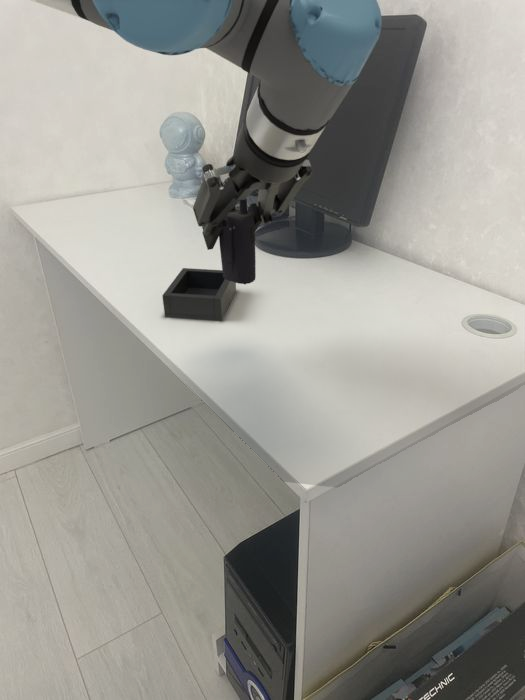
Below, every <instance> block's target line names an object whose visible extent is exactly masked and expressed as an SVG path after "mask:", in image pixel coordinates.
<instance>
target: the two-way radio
mask: <svg viewBox="0 0 525 700" xmlns="http://www.w3.org/2000/svg"><path fill="white" fill-rule="evenodd" d="M238 203H239V209H238V208H236V206H235V207H234V208H233V209H232V210H231V211H230V212H229V213H228V215H227V216H226V217H225V218H224V219H223V220H222V224H223V229H222V231H221V233H220V235H219V237H218V241H219V250H220V259H221V261H220V262H221V270H222V271H223V277H224V279H226V280H229V281H232V282H235V283H236V284H240V285H247V284H252V283H253V282H255V281H256V278H257V277H256V264H257V263H256V262H257V261H256V232H255V222H254V216H253V214H252V213H250V212H248V211H247V210H248V197H247V198H246V199H245V200H240V201H239V202H238Z"/></svg>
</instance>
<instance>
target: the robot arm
mask: <svg viewBox="0 0 525 700" xmlns="http://www.w3.org/2000/svg"><path fill="white" fill-rule="evenodd" d="M31 1H32V2H35V3H37V4H40V5H43V6H46V7H49V8H52V9H55V10H58V11H60V12H62V13H66V14H69V15H70V16H71V15H72V16H74V17H77V18H80V19H83V20H85V21H88V22H91V23H92V24H94V25H97V26H99V27H102V28H105V29H108V30H110V31H113V32H114V33H115V34H117V35H118V36H119V37H120V38H121V39H123V40H124V41H125V42H127V43H129V44H131V45H133V46H135V47H137V48H139V49H142V50H145V51H149V52H152V53H157V54H160V55H165V56H180V55H184V54H188V53H191V52H193V51H195V50H199V49H207V50H209V51H210V52H212V53H214V54H216V55H217V56H219V57H221V58H223V59H224V60H226V61H228V62H230V63H231V64H233V65H235V66H237V67H238V68H240V69H242V70H243V71H244V72H246V73H247V74H250V75H252V76H254V77H255V78H257V79H259V80H260V81H259V83H258V85H257V88H256V90H255V92H254V95H253V97H252V99H251V102H250V104H249V106H248V109H247V111H246V116H245V118H244V120H243V122H242V125H241V128H240V130H239V133H238V136H237V138H236V142H235V148H234V154H232V156H231V157H229V159H228V160H227V161H226V163H225V165H224V166H221V167H218V168H217V167H216V168H214V165H213V164H211V163H207V164H204V165H203V166H202V174H203V179H202V181H201V184H200V186H199V190H198V193H197V195H196V198H195V201H194V204H193V206H192V210H193V213H194V216H195V220H196V223H197V226H198V227H201V229H202V235H203V236H202V237H203V239H204V243H205V245H206V249H207V250H209V251H211V250H213V249H214V247H215V246H216V243H217V242H218V240H219V235H220V233H221V231H222V229H223V224H222V220H223V219H224V218H225V217H226V216H227V215H228V213H229V212H230V211H231V210H232V209H233V208H234V207H235V208H236V206H237V205H238V203H239V201H240V200H245V199H246V198H247V199H248V197H249V196H250V195H251V194H252V193H253V192H254V191H256V190H257V191H258V193H257V194H258V195H257V201H256V202H253V203H250V205H249V207H248V208H247V211H248V212H250V213H252V214H253V216H254V222H255V233H256V232H257V230H258V229H259V228H260V227H262V226H264V224H265V225H269V224H271V223H273V222H274V219H273V216H272V214H274V213H275V214H276V215H278V216H279V215H283V214H284V213H285V212H286V211H287V209H288V207H289V206H290V205H291V202H292V201H293V199H294V198H295V197H296V195H297V193H298V192H299V191H300V189H301V187H302V186H303V184H304V183H305V182H306V181H307V180H308V179H309V178H311V177H312V176H313V175H314V171H313V168H312V165H311V162H310V160H309V157H308V156H309V155H310V152H311V151H312V149H313V148H314V146H315V145H316V143H317V141H318V139H319V138H320V136H321V135H322V133H323V132H324V130H325V129H326V127H327V126H328V124H329V123H330V121H331V119H332V117H333V116H334V114H335V113H336V111H337V110H338V108H339V107H340V105H341V104H342V102H343V100H344V99H345V98H346V96H347V95H348V93H349V92H350V89H351V88H352V87H353V85H354V83H355V82H356V81H357V80H358V79H359V76H360V74H361V72H362V70H363V68H364V66H365V64H366V63H367V61H368V59H369V57H370V55H371V53H372V52H373V50H374V48H375V46H376V45H377V42H378V41H379V40H380V35H381V32H382V31H381V30H382V27H383V26H382V24H383V23H382V22H383V20H382V12H381V8H380V5H379V3H378V0H31Z"/></svg>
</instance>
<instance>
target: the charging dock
mask: <svg viewBox="0 0 525 700" xmlns="http://www.w3.org/2000/svg"><path fill="white" fill-rule="evenodd" d="M236 293H237V283H235V282H232V281H229V280H226V279H224V277H223V271H222V269H209V268H208V269H206V268H187V267H183V268H182V269H181V270H180V271H179V273H178V274H177V276H175V278H174V279H173V281H172V282H171V283H170V284H169V286H168V287H167V288H166V290H165V291H164V293H163V294H162V295H161V296H162V304H163V312H164V318H173V319H185V320H201V321H214V322H215V321H216V322H222V321H223V320H224V318H225V316H226V313H227V311H228V309H229V307H230V306H231V303H232V301H233V299H234V297H235V295H236Z"/></svg>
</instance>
